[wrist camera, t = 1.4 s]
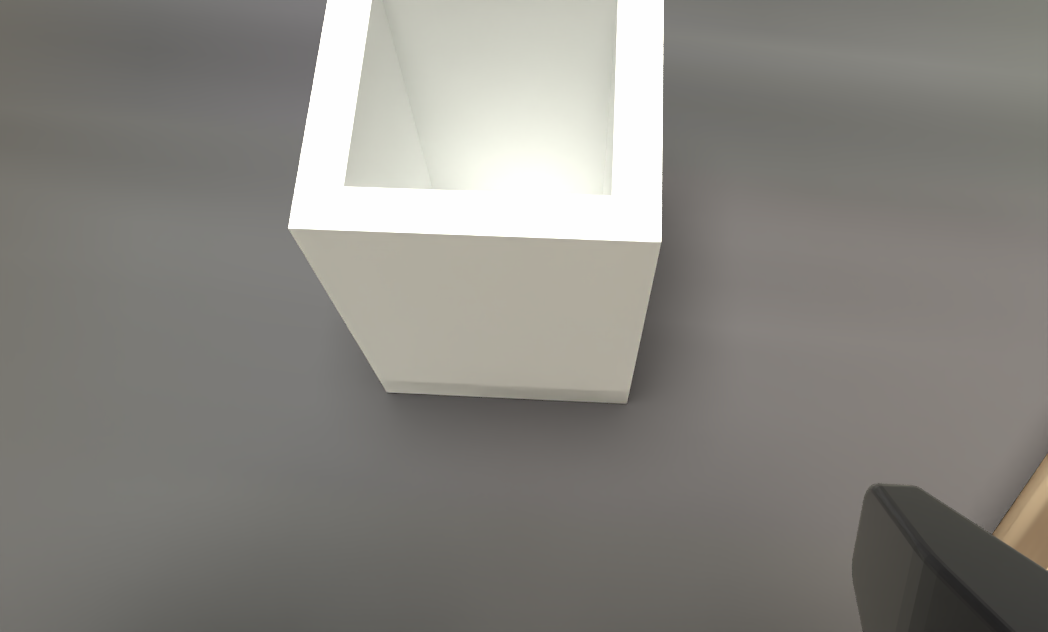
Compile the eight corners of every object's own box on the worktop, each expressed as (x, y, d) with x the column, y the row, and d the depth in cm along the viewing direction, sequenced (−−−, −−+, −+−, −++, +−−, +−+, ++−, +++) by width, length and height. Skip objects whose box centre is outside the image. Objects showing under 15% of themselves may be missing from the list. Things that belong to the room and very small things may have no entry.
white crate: (626, 403, 23) (660, 241, 15) (386, 392, 23) (287, 228, 15) (631, 190, 25) (663, -55, 17) (412, 183, 26) (338, -62, 17)
